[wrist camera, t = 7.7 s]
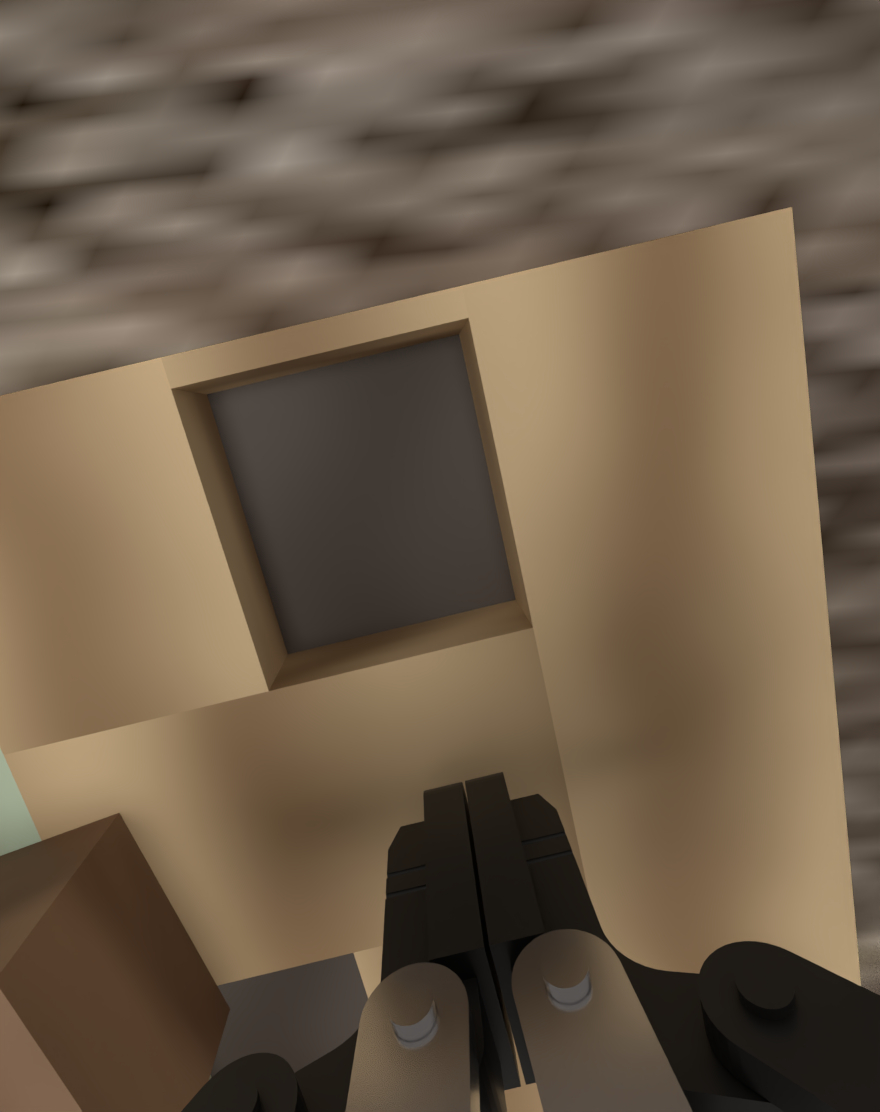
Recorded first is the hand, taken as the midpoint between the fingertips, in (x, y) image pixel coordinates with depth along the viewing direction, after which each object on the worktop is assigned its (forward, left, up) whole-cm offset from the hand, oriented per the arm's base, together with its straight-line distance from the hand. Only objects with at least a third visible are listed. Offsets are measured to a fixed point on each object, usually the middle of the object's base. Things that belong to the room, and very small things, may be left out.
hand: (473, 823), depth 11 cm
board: (+3, 0, -3) cm, 4 cm away
